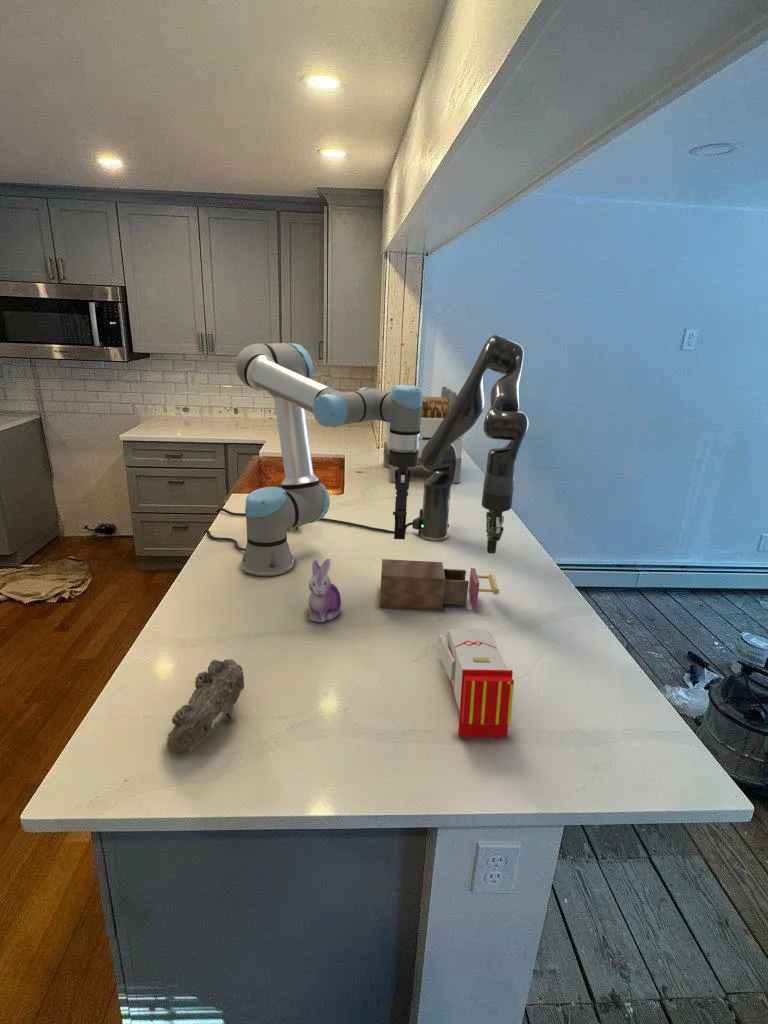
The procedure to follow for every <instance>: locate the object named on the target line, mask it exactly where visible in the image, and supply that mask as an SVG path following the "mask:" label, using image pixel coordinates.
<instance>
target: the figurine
mask: <svg viewBox="0 0 768 1024" xmlns="http://www.w3.org/2000/svg"><path fill="white" fill-rule="evenodd" d="M330 566H331V558H326V559H325V560H324V562H323V563H322V565H321V566H320V564H319V562H318V561H317V559H313V560H312V562H311V570H312V575H311V577H310V579H309V581H308V588H309V591H310V594H309V596H308V607H309V610H308V615H309V620H310V621H311V622H317V623H323V622H326V621H331V620H333V619H335V618H336V617H338V616H339V615H340V612H341V606H342V597H341V592H340V591H339V589H338V587H337V586H336V585H335V584H333V583H332V581H331V578H330V577H329V575H328V574H329V570H330Z"/></svg>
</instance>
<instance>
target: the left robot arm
mask: <svg viewBox="0 0 768 1024" xmlns="http://www.w3.org/2000/svg"><path fill="white" fill-rule="evenodd" d="M235 371H236V374H237V377H238V378H239V380H240V381H241V382H242V383H243V384H244V385H246V386H248V387H249V388H251V389H254V390H255V391H260V392H261V391H266V392H267V393H268V394H269V395H270V396H272V397H273V402H274V407H275V414H276V421H277V429H278V435H279V436H278V437H279V443H280V449H281V457H282V463H283V464H282V465H283V470H284V479H282V481H281V483H280V486H281V487H279V486H269V487H268V486H265V487H260V488H257V489H255V490H253V491H252V492H250V493H249V494H248V495H247V497H246V499H245V507H244V513H246V516H245V522H246V523H245V524H246V525H245V526H246V545H245V547H240V546H239V545H238V544H239V543H238V541H237V540H236V539H234V538H231V537H217V536H213V534H211V531H210V530H209V529H205V530H204V534H207V535H208V537H209V538H210V539H212V540H216V541H230V542H233V543H234V547H235V549H236V550H238V551H241V552H243V554H242V559H241V569H242V570H243V572H245V573H246V574H249V575H252V576H254V577H255V576H256V577H274V576H275V577H276V576H280V575H283V574H286V573H287V572H289V571H291V570H292V569H293V568H294V561H295V557H294V556H293V554H292V551H291V549H290V545H289V542H288V530H287V529H289V530H290V529H294V528H293V527H295V528H296V527H297V526H300V525H301V526H303V525H308V524H312V523H315V522H317V521H320V520H319V519H321V518H325V516H326V514H327V513H328V511H329V509H330V500H331V499H330V493H329V490H328V489H327V488H326V486H325V485H324V484H322V483H321V482H320V478H319V477H318V476H317V475H316V474H315V473H314V469H313V461H312V453H311V446H310V439H309V431H308V424H307V423H308V422H307V416H306V411H307V412H310V413H311V414H312V415H313V417H314V419H315V420H316V421H317V423H318V424H319V425H320V426H322V427H325V428H326V427H334V428H335V427H340V426H343V425H344V426H345V425H350V424H355V423H363V422H370V421H371V422H372V421H381V422H385V423H386V422H389V423H390V431H389V447H390V448H391V449H390V450H389V457H388V463H389V464H390V465H391V466H394V467H398V470H395V482H394V485H395V487H394V489H395V490H396V491H395V495H396V496H395V501H394V503H395V504H394V505H395V506H394V511H392V516H394V530H393V531H394V533H393V539H394V540H406V530H405V528H406V524H407V514H408V512H407V508H408V507H407V506H408V505H407V504H408V496H409V489H410V481H411V470H408V469H409V468H415V467H417V465H418V458H419V452H418V450H417V449H418V448H419V441H421V440H422V437H419V436H420V422H421V413H422V407H423V404H422V397H423V390H422V388H420V387H419V386H416V385H410V384H409V385H408V384H397V385H396V384H395V385H394V386H392V387H391V391H389V390H385V389H384V390H383V389H378V388H375V387H361V388H359V389H357V391H339V390H337V389H334V388H333V387H330V386H328V385H325V384H323V383H321V382H318V381H316V380H314V379H312V375H313V372H314V365H313V360H312V358H311V355H310V354H309V352H308V351H307V349H306V348H304V347H303V346H302V344H301V345H300V344H298V343H291V342H276V343H275V342H273V343H272V342H271V343H253V344H250V345H248V346H245V347H244V348H243V349H242V350H241V351H240V352H239V354H238V355H237V357H236V361H235ZM301 526H300V527H301ZM406 529H407V528H406Z"/></svg>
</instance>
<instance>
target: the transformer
mask: <svg viewBox="0 0 768 1024" xmlns="http://www.w3.org/2000/svg"><path fill="white" fill-rule="evenodd" d="M440 393H441V394H440V396H422V404H423V407H422V413H421V422H420V436H419V437H422V440H421V441H419V448H418V449H417V450H418V452H419V458H418V465H417V466H418V467H422V465H421V461H420V457H421V453H422V450H423V448H424V447H425V445H426V444H427V442H428V441H429V440H430V439H431V437H432V436H433V435H434V433H435V432H436V430H437V429H438V427H439V426H440V424H441V422H442V421H443V419H444V417H445V416H446V414H447V412H448V410H449V408H450V407H451V405H452V403H453V401H454V400H455V398H456V396H457V395H458V394H457V392H455V391H453V390H452V389H451V388H447V386H442V387H441V392H440ZM385 423H386V428H385V438H384V442H383V466H384V467H388V468H389V475H388V476H389V477H388V478H389V480H390V482H391V483H395V470H398V467H394V466H391V465H390V464H389V463H388V457H389V450H390V449H391V448H390V447H389V431H390V423H389V422H385ZM463 438H464V434H463V435H462V436H461V437H460V438H458V439H457V440H456V441H454V442H453V443H452V445H453V446H454V448H455V450H456V456H457V460H456V469H455V475H454V482H453V484H455V483H456V484H459V483H461V472H462V461H463V460H462V453H463V442H464V441H463V440H462V439H463ZM417 466H416V467H417Z"/></svg>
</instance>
